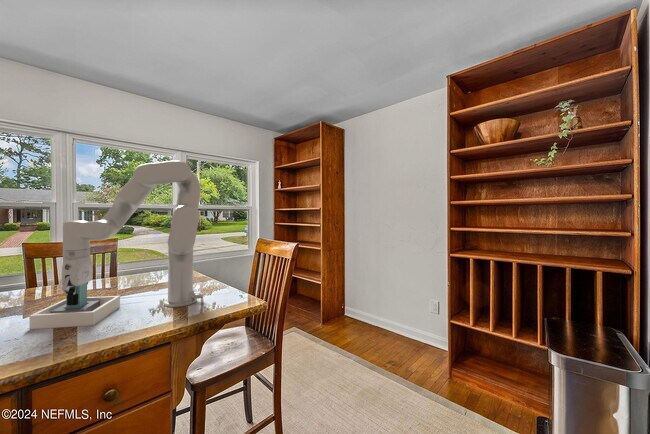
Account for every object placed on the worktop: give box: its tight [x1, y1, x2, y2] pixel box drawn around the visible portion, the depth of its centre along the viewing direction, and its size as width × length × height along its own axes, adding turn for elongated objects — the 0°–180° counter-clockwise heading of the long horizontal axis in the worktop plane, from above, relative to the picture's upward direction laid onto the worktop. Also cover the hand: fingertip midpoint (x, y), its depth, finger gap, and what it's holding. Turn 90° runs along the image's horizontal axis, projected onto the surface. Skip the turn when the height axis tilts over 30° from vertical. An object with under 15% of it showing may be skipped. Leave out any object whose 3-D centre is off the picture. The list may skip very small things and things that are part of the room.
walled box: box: [28, 295, 121, 330], centre depth 100 cm, size 18×18×4 cm
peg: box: [65, 283, 88, 308], centre depth 101 cm, size 4×4×10 cm
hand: (77, 302), depth 101 cm, fingers closed on peg, 4 cm apart
